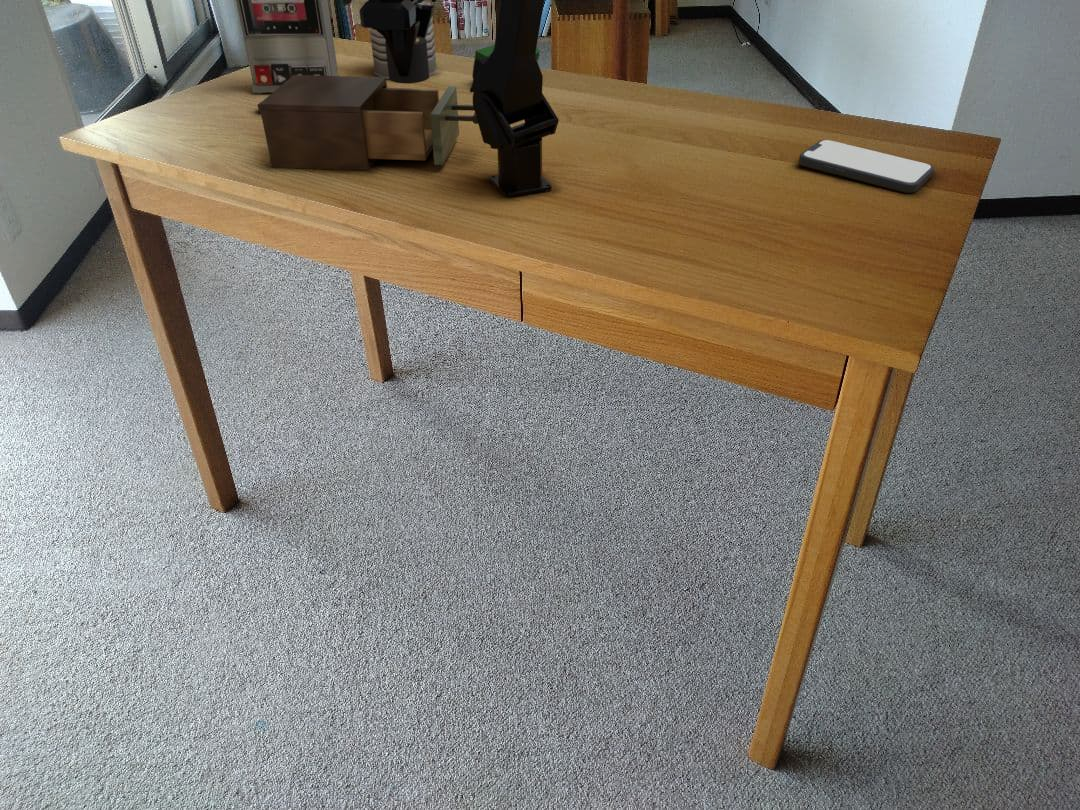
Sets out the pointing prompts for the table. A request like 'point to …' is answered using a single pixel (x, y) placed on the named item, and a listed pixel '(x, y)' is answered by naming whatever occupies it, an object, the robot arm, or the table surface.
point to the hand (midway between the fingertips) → (408, 70)
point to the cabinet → (319, 122)
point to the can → (381, 56)
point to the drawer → (413, 123)
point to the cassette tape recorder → (286, 40)
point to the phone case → (867, 166)
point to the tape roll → (417, 67)
